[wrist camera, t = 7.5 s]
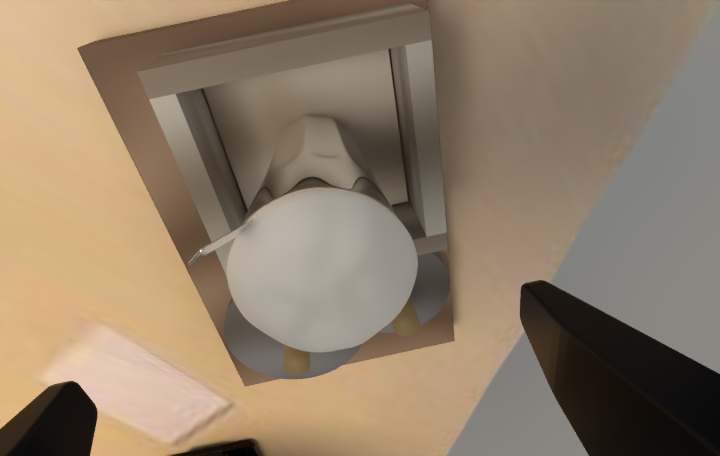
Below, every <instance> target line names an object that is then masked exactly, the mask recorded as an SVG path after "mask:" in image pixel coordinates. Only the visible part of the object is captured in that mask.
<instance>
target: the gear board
mask: <svg viewBox="0 0 720 456" xmlns="http://www.w3.org/2000/svg"><path fill="white" fill-rule="evenodd" d="M77 49H78V51H79V53H80V55H81V57H82V59H83V61H84V63H85V65H86V67H87V69H88V71H89V73H90V75H91V77H92V79H93V81H94V83H95V85H96V87H97V89H98V91H99V93H100V95H101V97H102V99H103V101H104V103H105V105H106V107H107V109H108V112H109V114H110V116H111V118H112V120H113V122H114V124H115V126H116V128H117V130H118V132H119V134H120V136H121V138H122V140H123V142H124V144H125V146H126V148H127V150H128V152H129V154H130V156H131V158H132V160H133V162H134V164H135V166H136V168H137V170H138V172H139V174H140V176H141V178H142V180H143V182H144V184H145V186H146V188H147V190H148V192H149V194H150V196H151V198H152V200H153V202H154V204H155V206H156V208H157V210H158V212H159V214H160V216H161V218H162V220H163V222H164V224H165V226H166V228H167V230H168V232H169V234H170V236H171V238H172V240H173V242H174V244H175V246H176V248H177V250H178V252H179V254H180V256H181V258H182V260H183V262H184V264H185V266H186V268H187V271H188V273H189V275H190V277H191V279H192V281H193V283H194V285H195V287H196V289H197V291H198V293H199V295H200V297H201V299H202V301H203V303H204V305H205V307H206V309H207V311H208V313H209V315H210V317H211V319H212V321H213V323H214V325H215V327H216V329H217V331H218V333H219V335H220V337H221V339H222V341H223V343H224V345H225V347H226V349H227V351H228V353H229V355H230V357H231V359H232V361H233V363H234V365H235V367H236V369H237V371H238V373H239V375H240V377H241V379H242V381H243V383H244V385H245V386H249V385H254V384H258V383H263V382H268V381H272V380H277V379H304V378H310V377H315V376H319V375H322V374H325V373H328V372H330V371H333V370H335V369H337V368H338V367H340V366H342V365H346V364H350V363H355V362H359V361H364V360H369V359H373V358H378V357H382V356H387V355H391V354H396V353H401V352H405V351H410V350H414V349H419V348H424V347H428V346H433V345H437V344H442V343H447V342H451V341H454V329H453V316H452V304H451V291H450V279H449V267H448V254H447V249H448V241H447V228H446V215H445V203H444V190H443V177H442V165H441V152H440V139H439V127H438V114H437V101H436V89H435V76H434V63H433V51H432V38H431V25H430V13H429V10H428V6H427V0H290V1H285V2H280V3H276V4H271V5H266V6H261V7H257V8H252V9H247V10H242V11H237V12H233V13H228V14H223V15H218V16H213V17H209V18H204V19H199V20H194V21H189V22H185V23H180V24H175V25H170V26H166V27H161V28H156V29H151V30H146V31H142V32H137V33H132V34H127V35H122V36H118V37H113V38H108V39H103V40H99V41H94V42H92V43H89V44H86V45H84V46H81V47H79V48H77ZM305 115H310V116H320V117H330V118H334V119H335V120H336V121H337V122H338V123H339V124H340V125H341V126H342V127H344V128H345V129H346V130H347V131H348V132H349V133H350V134H352V136H353V137H354V139H355V141H356V143H357V145H358V147H359V148H360V150H361V152H362V154H363V156H364V158H365V160H366V161H367V163H368V165H369V167H370V169H371V171H372V173H373V175H374V177H375V178H376V180H377V182H378V184H379V186H380V188H381V190H382V191H383V193H384V195H385V196H386V198H387V199H388V201H389V203H390V204H391V206H392V208H393V209H394V211H395V212H396V214H397V216H398V217H399V219H400V220H401V222H402V224H403V225H404V226H405V228H406V229H407V231H408V232H409V234H410V236H411V238H412V240H413V242H414V245H415V248H416V252H417V258H418V269H417V275H416V279H415V283H414V286H413V289H412V292H411V294H410V297H409V299H408V301H407V302H406V304H405V306H404V307H403V309H402V310H401V312H400V313H399V314H398V315H397V317H396V318H395V319H394V320H393V321H392V322H390V323H389V324H388V325H387V326H385V327H384V328H383V329H381V330H380V331H379V332H378V333H376V334H375V335H374V336H373V337H371V338H370V339H369V340H367V341H366V342H364V343H362V344H360V345H358V346H355V347H352V348H347V349H341V350H336V351H330V352H307V351H302V350H298V349H295V348H292V347H289V346H287V345H284V344H282V343H280V342H278V341H277V340H275V339H273V338H272V337H270V336H268V335H267V334H265V333H264V332H262V331H261V330H259V329H258V328H256V327H255V326H253V325H252V324H251V323H250V322H249V321H247V320H246V319H245V317H244V316H243V315H242V314H241V312H240V311H239V309H238V308H237V306H236V304H235V302H234V300H233V298H232V295H231V292H230V289H229V286H228V281H227V261H228V256H229V252H230V249H231V247H232V245H233V242H234V240H235V238H234V239H232V240H231V241H229V242H227V243H226V244H224V245H222V246H221V247H219V248H217V249H216V250H214V251H212V252H211V253H209V254H207V255H206V256H204V257H202V258H201V259H199V260H197V261H196V262H194V263H192V264H190V265H189V264H188V263H189V261H190V260H191V259H192V258H193V257H194V255H195V254H196V253H197V252H198V251H199V250H200V249H201V248H203V247H204V246H206V245H208V244H209V243H211V242H213V241H215V240H217V239H218V238H220V237H222V236H224V235H226V234H227V233H229V232H231V231H233V230H234V229H236V228H238V227H240V226H241V225H242V223H243V221H244V218H245V216H246V214H247V212H248V210H249V208H250V205H251V203H252V201H253V199H254V197H255V195H256V193H257V191H258V189H259V187H260V186H261V184H262V182H263V179H264V177H265V174H266V171H267V168H268V166H269V163H270V160H271V158H272V155H273V152H274V150H275V147H276V145H277V142H278V140H279V137H280V135H281V132H282V130H283V128H285V127H286V126H288V125H290V124H292V123H293V122H295V121H297V120H298V119H300V118H302V117H304V116H305Z"/></svg>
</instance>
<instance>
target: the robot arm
mask: <svg viewBox="0 0 720 456" xmlns="http://www.w3.org/2000/svg"><path fill="white" fill-rule="evenodd" d="M520 318H521V322H522V325H523V327H524V330H525V332H526V334H527V336H528V339H529V341H530V343H531V345H532V347H533V350H534V352H535V354H536V356H537V359H538V361H539V363H540V366H541V368H542V370H543V372H544V374H545V377H546V379H547V381H548V384H549V386H550V388H551V390H552V392H553V394H554V396H555V398H556V400H557V401H558V403H559V405H560V407H561V408H562V410H563V412H564V413H565V415H566V417H567V419H568V420H569V422H570V424H571V426H572V427H573V429H574V431H575V432H576V434H577V436H578V437H579V439H580V441H581V442H582V444H583V446H584V448H585V450H586V451H587V453H588V455H589V456H720V374H719V373H717V372H715V371H713V370H711V369H709V368H707V367H706V366H704V365H702V364H700V363H698V362H696V361H694V360H692V359H691V358H689V357H687V356H685V355H683V354H681V353H679V352H677V351H676V350H674V349H672V348H670V347H668V346H666V345H664V344H662V343H661V342H659V341H657V340H655V339H653V338H651V337H649V336H647V335H646V334H644V333H642V332H640V331H638V330H636V329H634V328H632V327H631V326H628V325H627V324H625V323H623V322H621V321H619V320H618V319H616V318H614V317H612V316H610V315H608V314H606V313H604V312H603V311H601V310H599V309H597V308H595V307H593V306H591V305H589V304H588V303H586V302H584V301H582V300H580V299H578V298H576V297H574V296H572V295H571V294H569V293H567V292H565V291H563V290H561V289H559V288H557V287H556V286H554V285H552V284H550V283H548V282H546V281H543V280H538V281H534V282H529V283H525V284H523V285H522V287H521V298H520ZM96 422H97V408H96V406H95V404H94V403H93V401H92V400H91V399H90V398H89V396H88V395H87V394H86V393H85V391H84V390H83V389H82V388H81V387H80V385H79V384H78V383H76V382H74V381H68V382H63V383H58V384H54V385H52V386H50V387H48V388H47V389H46V390H44V391H43V392H42V393H41V394H40V395H39V396H38V397H36V398H35V399H34V400H33V401H32V402H31V403H30V404H28V405H27V406H26V407H25V408H24V409H23V410H22V411H20V412H19V413H18V414H17V415H16V416H15V417H14V418H12V419H11V420H10V421H9V422H8V423H7V424H6V425H4V426H3V427H2V428H1V429H0V456H90V452H91V447H92V442H93V437H94V432H95V427H96ZM181 456H262V455H261V453H260V452H259V450H258V448H257V446H256V444H255V443H254V442H252V441H245V442H241V443H236V444H232V445H227V446H223V447H218V448H213V449H209V450H204V451H200V452H195V453H191V454H186V455H181Z"/></svg>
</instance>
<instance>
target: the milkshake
mask: <svg viewBox="0 0 720 456" xmlns="http://www.w3.org/2000/svg"><path fill="white" fill-rule="evenodd" d="M234 238H235V240H234V242H233V245H232V247H231V249H230V252H229V256H228V261H227V281H228V286H229V289H230V292H231V295H232V298H233V300H234V302H235V304H236V306H237V308H238V309H239V311H240V312H241V314H242V315H243V316H244V317H245V319H246V320H247V321H249V322H250V323H251V324H252V325H253V326H255V327H256V328H258V329H259V330H261V331H262V332H264V333H265V334H267V335H268V336H270V337H272V338H273V339H275V340H277V341H278V342H280V343H282V344H284V345H287V346H289V347H292V348H295V349H298V350H302V351H307V352H330V351H336V350H341V349H347V348H352V347H355V346H358V345H360V344H362V343H364V342H366V341H367V340H369V339H370V338H371V337H373V336H374V335H375V334H376V333H378V332H379V331H380V330H381V329H383V328H384V327H385V326H387V325H388V324H389V323H390V322H392V321H393V320H394V319H395V318H396V317H397V315H398V314H399V313H400V312H401V310H402V309H403V307H404V306H405V304H406V302H407V301H408V299H409V297H410V294H411V292H412V289H413V286H414V283H415V279H416V275H417V269H418V258H417V252H416V248H415V245H414V242H413V240H412V238H411V236H410V234H409V232H408V231H407V229H406V228H405V226H404V225H403V224H402V222H401V220H400V219H399V217H398V216H397V214H396V212H395V211H394V209H393V208H392V206H391V204H390V203H389V201H388V199H387V198H386V196H385V195H384V193H383V191H382V190H381V188H380V186H379V184H378V182H377V180H376V178H375V177H374V175H373V173H372V171H371V169H370V167H369V165H368V163H367V161H366V160H365V158H364V156H363V154H362V152H361V150H360V148H359V147H358V145H357V143H356V141H355V139H354V137H353V136H352V134H350V133H349V132H348V131H347V130H346V129H345V128H344V127H342V126H341V125H340V124H339V123H338V122H337V121H336V120H335V119H334V118H330V117H320V116H310V115H305V116H304V117H302V118H300V119H298V120H297V121H295V122H293V123H292V124H290V125H288V126H286V127H285V128H283V130H282V132H281V135H280V137H279V140H278V142H277V145H276V147H275V150H274V152H273V155H272V158H271V160H270V163H269V166H268V168H267V171H266V174H265V177H264V179H263V182H262V184H261V186H260V187H259V189H258V191H257V193H256V195H255V197H254V199H253V201H252V203H251V205H250V208H249V210H248V212H247V214H246V216H245V218H244V221H243V223H242V225H241V226H240V227H238V228H236V229H234V230H233V231H231V232H229V233H227V234H226V235H224V236H222V237H220V238H218V239H217V240H215V241H213V242H211V243H209V244H208V245H206V246H204V247H203V248H201V249H200V250H199V251H198V252H197V253H196V254H195V255H194V257H193V258H192V259H191V260H190V261H189V263H188V264H189V265H190V264H192V263H194V262H196V261H197V260H199V259H201V258H202V257H204V256H206V255H207V254H209V253H211V252H212V251H214V250H216V249H217V248H219V247H221V246H222V245H224V244H226V243H227V242H229V241H231V240H232V239H234Z"/></svg>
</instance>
